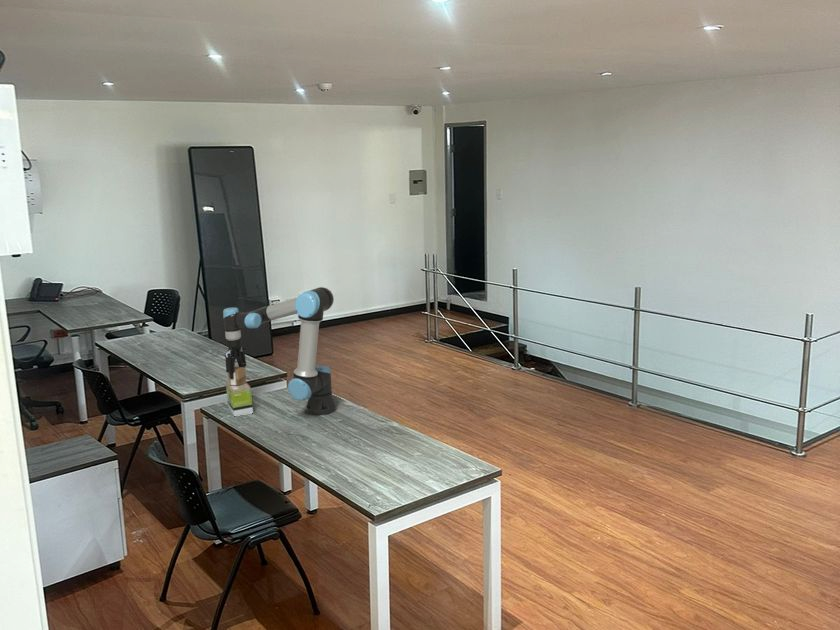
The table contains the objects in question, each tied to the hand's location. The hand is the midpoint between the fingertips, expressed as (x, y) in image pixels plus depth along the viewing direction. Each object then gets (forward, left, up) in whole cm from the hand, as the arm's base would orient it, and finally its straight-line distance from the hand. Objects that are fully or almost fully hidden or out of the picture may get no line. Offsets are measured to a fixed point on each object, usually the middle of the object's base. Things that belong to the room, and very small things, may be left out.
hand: (237, 382), depth 384 cm
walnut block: (0, 0, -1) cm, 1 cm away
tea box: (0, 0, -16) cm, 16 cm away
